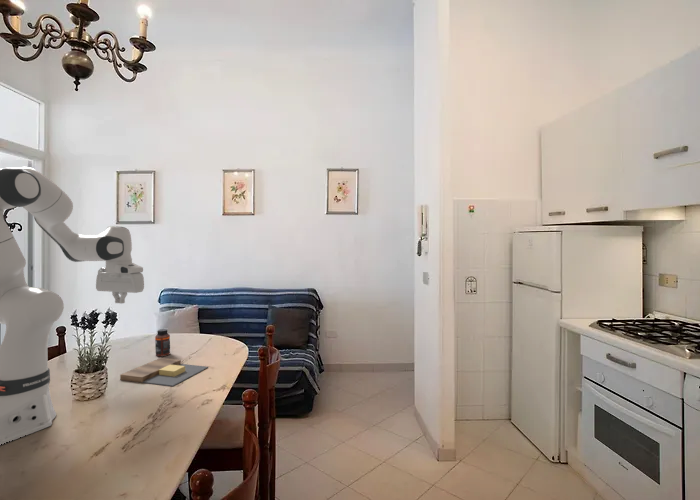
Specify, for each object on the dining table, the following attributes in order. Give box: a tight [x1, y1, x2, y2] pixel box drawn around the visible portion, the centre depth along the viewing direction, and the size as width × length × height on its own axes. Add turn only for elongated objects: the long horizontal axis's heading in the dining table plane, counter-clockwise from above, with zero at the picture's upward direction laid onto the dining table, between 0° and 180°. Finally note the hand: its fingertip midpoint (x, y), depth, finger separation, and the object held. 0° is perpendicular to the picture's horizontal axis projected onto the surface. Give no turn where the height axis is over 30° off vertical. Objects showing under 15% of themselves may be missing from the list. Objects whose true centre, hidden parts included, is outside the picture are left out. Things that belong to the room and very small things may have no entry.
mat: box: [142, 363, 209, 387], centre depth 145 cm, size 20×13×1 cm, turn 164°
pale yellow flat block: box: [159, 365, 185, 377], centre depth 146 cm, size 6×7×2 cm
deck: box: [119, 357, 182, 384], centre depth 148 cm, size 20×10×2 cm, turn 164°
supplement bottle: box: [154, 328, 171, 357], centre depth 169 cm, size 6×6×11 cm
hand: (119, 303), depth 147 cm, fingers closed
